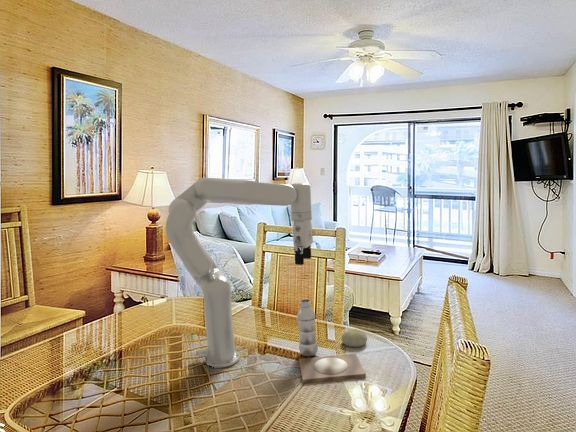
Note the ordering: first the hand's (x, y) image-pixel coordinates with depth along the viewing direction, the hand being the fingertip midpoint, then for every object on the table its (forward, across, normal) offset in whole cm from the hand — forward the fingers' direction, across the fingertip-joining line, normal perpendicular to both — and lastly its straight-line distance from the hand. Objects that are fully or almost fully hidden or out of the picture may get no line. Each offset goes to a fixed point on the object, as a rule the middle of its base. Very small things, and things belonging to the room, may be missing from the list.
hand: (303, 261), depth 158 cm
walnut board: (+32, -19, -14) cm, 40 cm away
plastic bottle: (+32, -11, -4) cm, 34 cm away
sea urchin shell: (+32, +2, -18) cm, 36 cm away
